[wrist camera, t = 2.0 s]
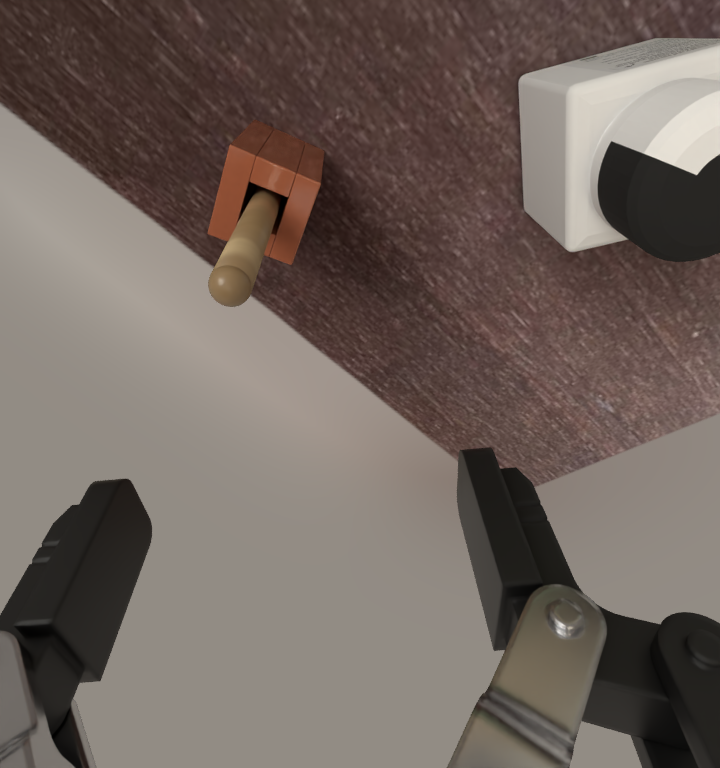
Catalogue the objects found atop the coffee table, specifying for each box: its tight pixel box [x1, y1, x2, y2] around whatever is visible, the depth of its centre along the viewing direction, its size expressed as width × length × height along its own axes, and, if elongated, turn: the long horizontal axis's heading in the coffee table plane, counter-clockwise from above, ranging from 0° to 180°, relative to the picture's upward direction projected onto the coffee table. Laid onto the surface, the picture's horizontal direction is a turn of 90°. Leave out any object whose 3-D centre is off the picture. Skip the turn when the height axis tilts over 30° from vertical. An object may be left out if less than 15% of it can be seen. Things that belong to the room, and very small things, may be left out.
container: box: [518, 38, 720, 262], centre depth 24 cm, size 8×8×13 cm
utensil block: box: [208, 120, 324, 265], centre depth 27 cm, size 4×4×8 cm
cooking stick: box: [208, 186, 283, 307], centre depth 23 cm, size 1×1×17 cm
